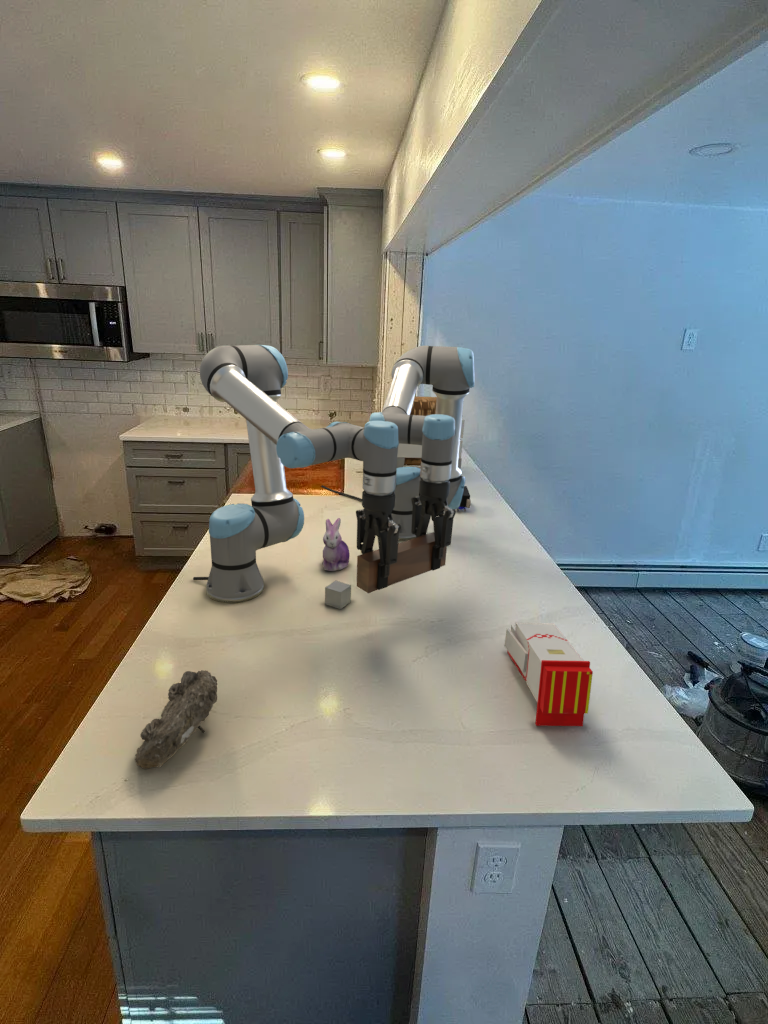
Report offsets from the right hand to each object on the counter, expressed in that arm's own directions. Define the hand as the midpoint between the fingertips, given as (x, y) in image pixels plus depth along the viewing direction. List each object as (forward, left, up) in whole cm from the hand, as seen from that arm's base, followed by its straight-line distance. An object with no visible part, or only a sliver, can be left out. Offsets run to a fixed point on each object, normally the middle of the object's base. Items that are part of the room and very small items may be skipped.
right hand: (428, 565), depth 147 cm
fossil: (+6, -68, -13) cm, 69 cm away
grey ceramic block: (-16, -17, -13) cm, 27 cm away
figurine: (-35, -4, -13) cm, 37 cm away
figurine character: (-50, +69, -13) cm, 86 cm away
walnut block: (0, -9, 0) cm, 9 cm away
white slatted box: (-96, +90, -13) cm, 132 cm away
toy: (+38, -3, -13) cm, 40 cm away
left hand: (0, -18, 0) cm, 18 cm away
